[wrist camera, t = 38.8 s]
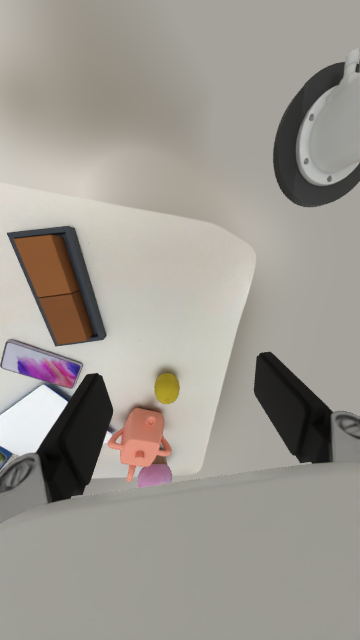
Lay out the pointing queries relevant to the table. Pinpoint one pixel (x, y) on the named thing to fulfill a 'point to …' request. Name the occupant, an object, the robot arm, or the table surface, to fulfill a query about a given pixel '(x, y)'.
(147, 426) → the teapot
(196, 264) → the table surface
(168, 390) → the lemon
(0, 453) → the milk carton
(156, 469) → the cupcake
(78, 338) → the brown brick
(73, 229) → the frame
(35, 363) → the smartphone
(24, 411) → the plate
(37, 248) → the brown rectangular block
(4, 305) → the table surface
